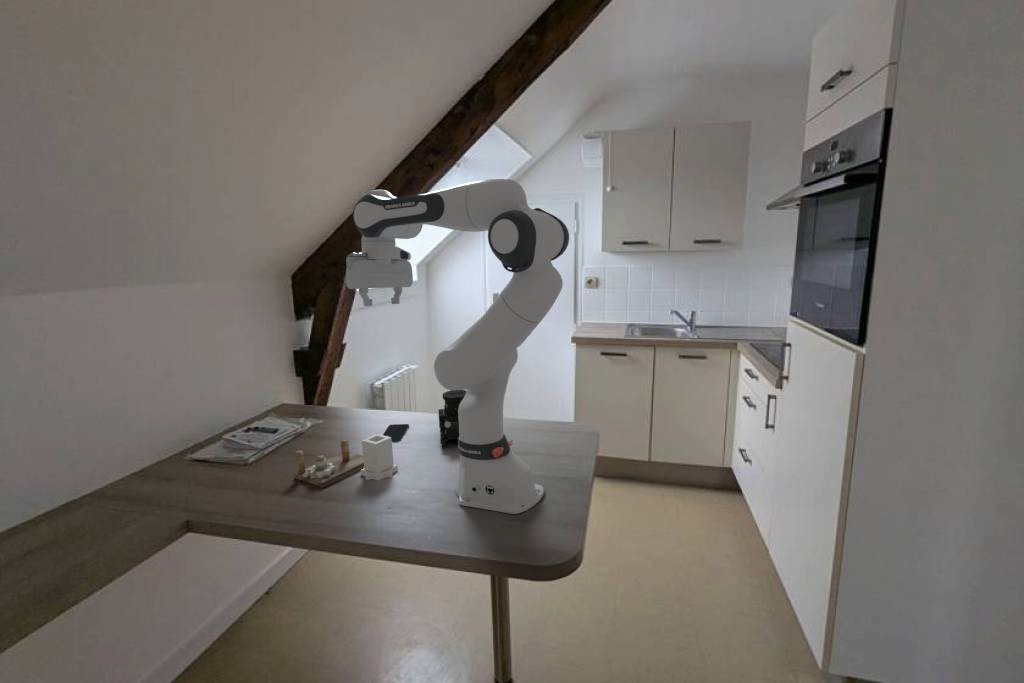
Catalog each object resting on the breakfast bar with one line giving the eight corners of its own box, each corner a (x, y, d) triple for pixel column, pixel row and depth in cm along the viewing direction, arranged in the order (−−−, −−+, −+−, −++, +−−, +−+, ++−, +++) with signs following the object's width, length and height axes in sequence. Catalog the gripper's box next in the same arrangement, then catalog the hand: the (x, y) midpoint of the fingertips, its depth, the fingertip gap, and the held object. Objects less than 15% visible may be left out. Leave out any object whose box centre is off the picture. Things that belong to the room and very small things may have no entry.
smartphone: (377, 441, 161) (389, 424, 175) (378, 445, 161) (389, 427, 176) (400, 441, 160) (409, 423, 175) (400, 444, 161) (410, 426, 175)
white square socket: (405, 469, 140) (402, 435, 138) (378, 484, 132) (375, 448, 130) (380, 462, 145) (377, 430, 143) (353, 476, 137) (350, 441, 135)
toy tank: (475, 427, 172) (473, 385, 169) (480, 447, 154) (478, 401, 151) (439, 430, 170) (437, 388, 167) (440, 451, 152) (437, 404, 150)
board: (373, 463, 145) (371, 438, 143) (322, 488, 130) (319, 461, 129) (346, 455, 151) (343, 432, 150) (294, 478, 137) (291, 452, 135)
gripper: (354, 251, 123) (357, 307, 125) (415, 253, 139) (417, 303, 141) (338, 252, 127) (342, 307, 128) (399, 255, 143) (402, 303, 145)
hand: (382, 305), depth 135 cm, fingers open, 8 cm apart
